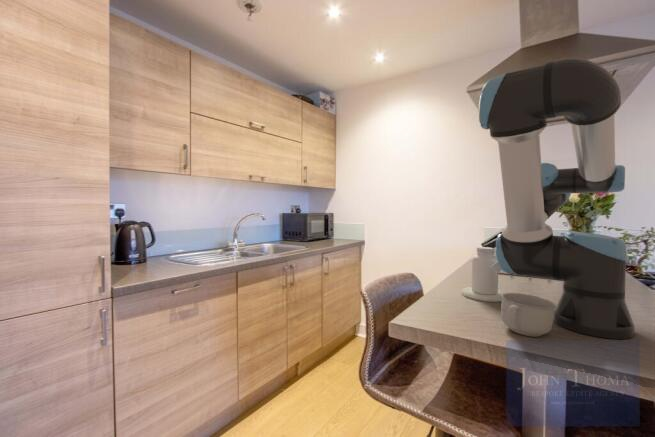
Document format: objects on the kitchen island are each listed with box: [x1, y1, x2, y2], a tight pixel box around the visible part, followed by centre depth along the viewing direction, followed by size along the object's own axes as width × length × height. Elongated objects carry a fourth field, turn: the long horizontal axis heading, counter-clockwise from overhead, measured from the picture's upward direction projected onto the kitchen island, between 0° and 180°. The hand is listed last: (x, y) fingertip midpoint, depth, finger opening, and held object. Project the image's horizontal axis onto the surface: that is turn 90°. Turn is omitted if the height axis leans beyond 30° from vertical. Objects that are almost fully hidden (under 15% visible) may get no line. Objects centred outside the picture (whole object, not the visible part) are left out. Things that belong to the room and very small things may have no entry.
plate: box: [461, 286, 507, 303], centre depth 104 cm, size 14×14×1 cm
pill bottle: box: [471, 246, 499, 295], centre depth 103 cm, size 8×8×15 cm
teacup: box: [500, 292, 557, 338], centre depth 73 cm, size 14×11×8 cm
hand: (482, 266), depth 104 cm, fingers open, 13 cm apart
